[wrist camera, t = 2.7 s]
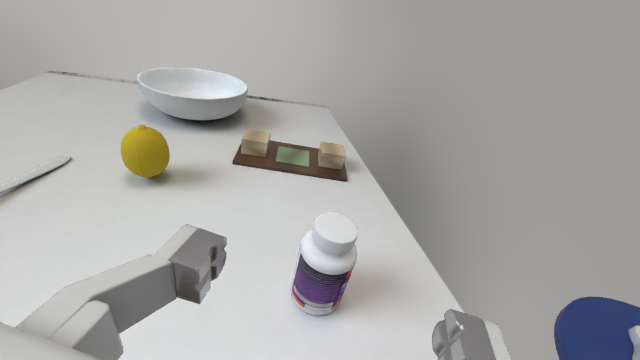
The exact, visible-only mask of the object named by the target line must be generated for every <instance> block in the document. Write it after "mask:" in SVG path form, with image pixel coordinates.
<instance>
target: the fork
mask: <svg viewBox="0 0 640 360" xmlns="http://www.w3.org/2000/svg"><path fill="white" fill-rule="evenodd" d="M70 158H71V157H70V156H59V157H56V158H53V159H51V160H49V161H47V162H45V163H43V164H41V165H39V166H37V167H35V168H33V169H32V170H30V171H28V172H26V173H24V174H22V175H20V176H18V177H16V178H14V179H12V180H11V181H9V182H7V183H5V184H3V185H1V186H0V193H2V192H4V191H7V190H9V189H11V188H14V187H16V186H18V185H20V184H23V183H25V182H27V181H29V180H31V179H33V178H35V177H38V176H40V175H42V174H44V173H46V172H48V171H50V170H53V169H55V168H57V167H59V166H61V165H63V164H65V163H66V162H68V161H69V160H70Z"/></svg>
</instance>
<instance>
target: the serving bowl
mask: <svg viewBox="0 0 640 360" xmlns="http://www.w3.org/2000/svg"><path fill="white" fill-rule="evenodd" d="M137 81H138V84H139V88H140V90H141V92H142V94H143V96H144V97H145V99H146V100H147V101H148V102H149V103H150V104H151V105H152V106H153V107H155V108H156V109H158V110H160V111H161V112H163V113H166V114H168V115H171V116H174V117H178V118H183V119H190V120H214V119H219V118H224V117H227V116H229V115H231V114H233V113H235V112H236V111H238V110H239V109H240V108H241V106H242V105H243V103H244V102H245V99H246V96H247V91H248V87H247V85H246V84H245V83H244V82H242V81H241V80H239V79H237V78H235V77H233V76H230V75H227V74H223V73H219V72H214V71H209V70H203V69H195V68H176V67H170V68H157V69H151V70H147V71H144V72H142V73H140V74H139V75H138V77H137Z"/></svg>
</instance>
